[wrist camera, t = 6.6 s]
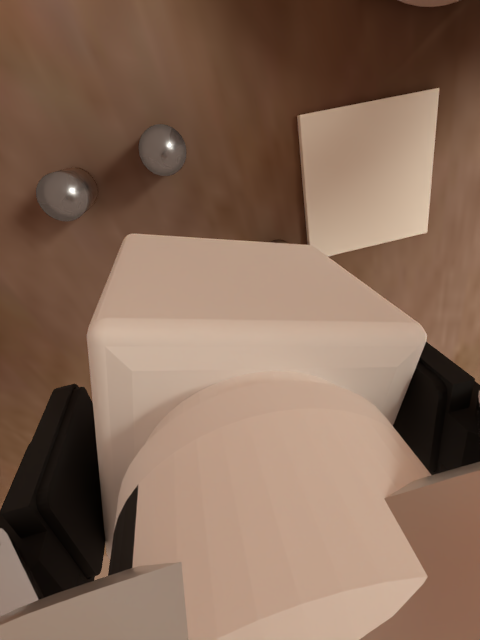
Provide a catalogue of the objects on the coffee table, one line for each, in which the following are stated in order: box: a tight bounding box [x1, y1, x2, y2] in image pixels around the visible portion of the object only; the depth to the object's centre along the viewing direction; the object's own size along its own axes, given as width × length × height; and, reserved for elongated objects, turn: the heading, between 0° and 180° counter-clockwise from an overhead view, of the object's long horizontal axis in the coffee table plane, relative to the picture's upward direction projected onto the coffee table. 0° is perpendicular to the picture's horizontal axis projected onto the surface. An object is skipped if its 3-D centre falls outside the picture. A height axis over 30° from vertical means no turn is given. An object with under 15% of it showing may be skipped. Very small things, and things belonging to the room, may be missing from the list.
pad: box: [297, 88, 439, 256], centre depth 31 cm, size 12×12×1 cm
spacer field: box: [36, 124, 289, 244], centre depth 28 cm, size 18×16×5 cm
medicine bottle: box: [87, 234, 431, 640], centre depth 9 cm, size 7×7×12 cm
